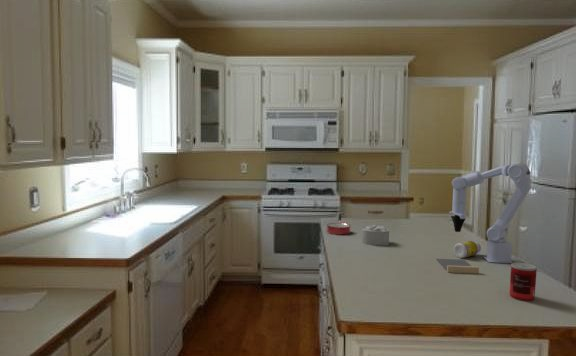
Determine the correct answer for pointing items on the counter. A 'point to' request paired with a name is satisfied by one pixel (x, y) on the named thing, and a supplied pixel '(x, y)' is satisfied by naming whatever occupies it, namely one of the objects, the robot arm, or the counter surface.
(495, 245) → the robot arm
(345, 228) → the frying pan
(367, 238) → the lumpy-topped squat cylinder
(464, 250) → the supplement bottle
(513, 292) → the canned food
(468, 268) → the mat
